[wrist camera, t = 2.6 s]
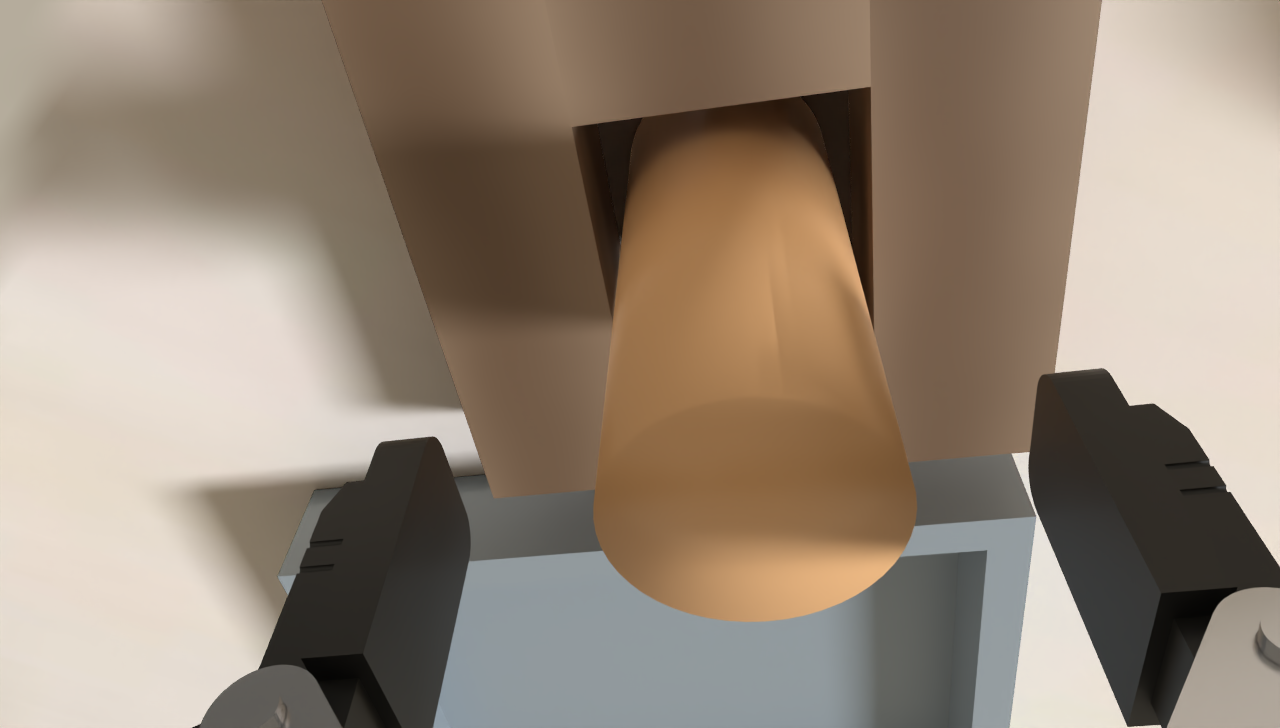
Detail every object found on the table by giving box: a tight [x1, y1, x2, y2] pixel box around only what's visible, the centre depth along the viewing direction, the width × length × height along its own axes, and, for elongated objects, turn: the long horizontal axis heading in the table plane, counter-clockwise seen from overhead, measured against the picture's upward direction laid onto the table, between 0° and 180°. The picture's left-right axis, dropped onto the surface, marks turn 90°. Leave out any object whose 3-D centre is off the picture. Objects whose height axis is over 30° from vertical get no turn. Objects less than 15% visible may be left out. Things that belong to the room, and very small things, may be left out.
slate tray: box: [277, 454, 1036, 728], centre depth 29 cm, size 18×16×3 cm
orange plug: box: [593, 96, 917, 622], centre depth 16 cm, size 4×4×10 cm
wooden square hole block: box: [322, 0, 1102, 499], centre depth 19 cm, size 12×12×3 cm
